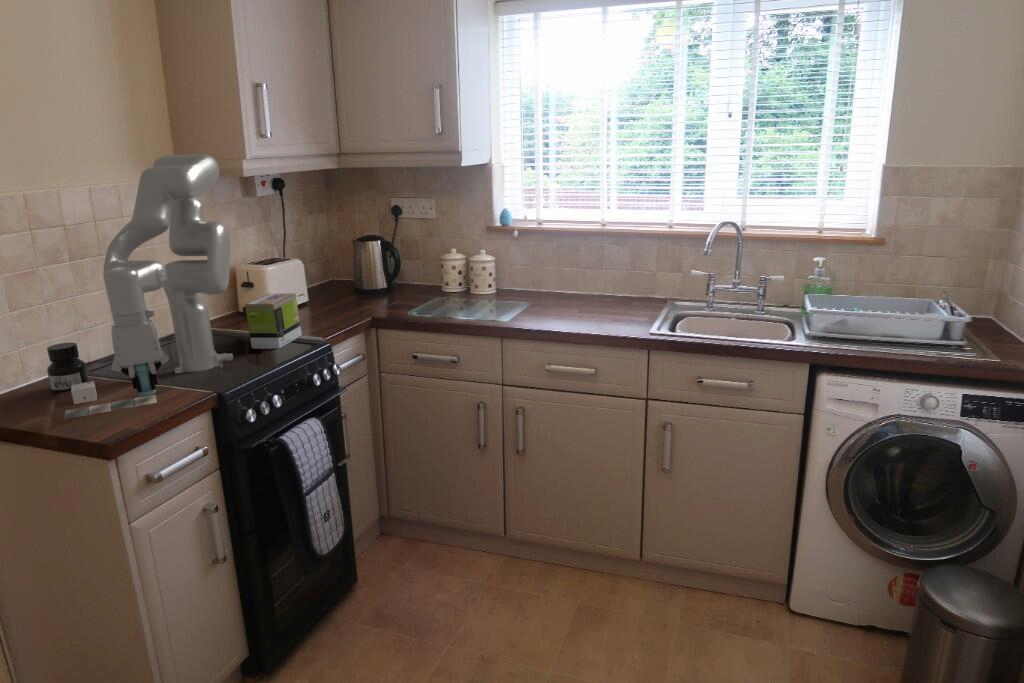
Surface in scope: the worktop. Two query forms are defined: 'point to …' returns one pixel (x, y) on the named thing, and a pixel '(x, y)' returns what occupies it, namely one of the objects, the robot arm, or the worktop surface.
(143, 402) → the board
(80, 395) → the die
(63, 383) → the ink bottle
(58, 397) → the worktop surface
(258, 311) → the tea box
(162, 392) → the worktop surface
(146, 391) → the pawn
